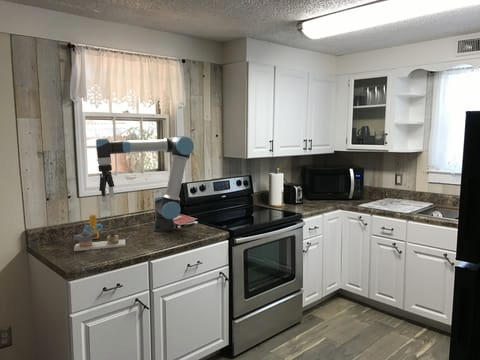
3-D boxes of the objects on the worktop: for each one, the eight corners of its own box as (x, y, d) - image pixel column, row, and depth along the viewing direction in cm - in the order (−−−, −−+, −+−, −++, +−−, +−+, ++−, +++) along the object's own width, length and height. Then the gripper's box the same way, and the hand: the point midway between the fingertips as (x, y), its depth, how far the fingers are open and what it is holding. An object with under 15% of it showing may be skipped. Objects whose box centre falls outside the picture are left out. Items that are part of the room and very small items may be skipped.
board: (125, 241, 234) (125, 239, 234) (125, 246, 223) (125, 244, 223) (76, 245, 226) (75, 243, 225) (73, 251, 215) (73, 249, 215)
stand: (118, 240, 230) (118, 228, 229) (118, 243, 224) (117, 231, 223) (107, 241, 228) (106, 229, 228) (107, 244, 222) (106, 232, 221)
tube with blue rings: (96, 235, 250) (95, 212, 248) (107, 236, 245) (105, 214, 243) (80, 239, 239) (78, 216, 238) (91, 241, 234) (89, 217, 232)
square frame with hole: (97, 237, 223) (96, 233, 223) (84, 241, 216) (84, 237, 215) (86, 236, 228) (86, 231, 227) (73, 239, 220) (73, 235, 219)
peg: (92, 243, 226) (91, 228, 225) (91, 246, 220) (90, 231, 219) (80, 244, 224) (79, 229, 223) (78, 247, 218) (77, 232, 217)
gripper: (105, 163, 239) (108, 196, 242) (91, 167, 215) (94, 203, 218) (117, 162, 240) (120, 195, 243) (104, 166, 215) (108, 203, 218)
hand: (108, 199), depth 230 cm, fingers open, 13 cm apart
